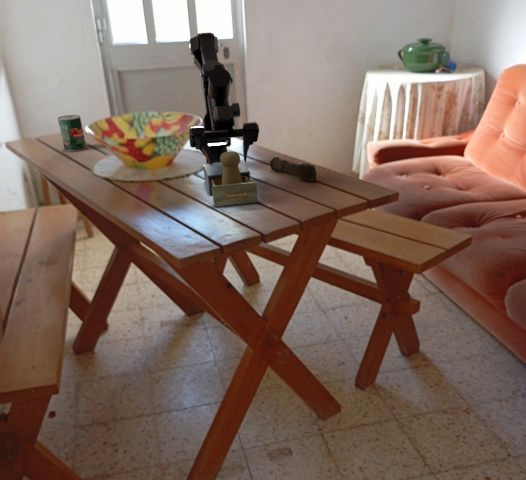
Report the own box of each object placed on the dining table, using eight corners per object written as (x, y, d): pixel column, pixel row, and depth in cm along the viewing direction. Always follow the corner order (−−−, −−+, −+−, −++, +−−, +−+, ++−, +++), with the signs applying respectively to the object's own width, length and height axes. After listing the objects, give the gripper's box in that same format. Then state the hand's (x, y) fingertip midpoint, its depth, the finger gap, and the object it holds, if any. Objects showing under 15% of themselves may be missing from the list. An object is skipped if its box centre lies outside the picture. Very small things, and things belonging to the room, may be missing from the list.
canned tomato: (83, 151, 203) (76, 118, 197) (61, 151, 203) (54, 119, 197) (89, 145, 210) (82, 114, 204) (68, 146, 210) (61, 115, 204)
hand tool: (269, 171, 172) (268, 155, 170) (279, 168, 174) (279, 153, 172) (308, 185, 159) (308, 168, 157) (319, 182, 161) (319, 166, 158)
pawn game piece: (229, 199, 147) (226, 156, 141) (217, 194, 152) (213, 152, 146) (248, 194, 150) (245, 152, 144) (235, 189, 154) (232, 148, 148)
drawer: (260, 206, 145) (259, 186, 142) (215, 211, 143) (213, 190, 140) (249, 188, 158) (248, 169, 155) (208, 192, 156) (206, 173, 153)
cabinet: (251, 191, 156) (250, 171, 153) (209, 195, 154) (207, 175, 151) (243, 179, 166) (242, 160, 163) (204, 182, 165) (203, 163, 162)
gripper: (185, 94, 144) (193, 149, 141) (256, 89, 146) (266, 143, 143) (186, 120, 155) (194, 172, 152) (252, 115, 157) (261, 165, 154)
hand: (228, 162), depth 150 cm, fingers open, 9 cm apart
